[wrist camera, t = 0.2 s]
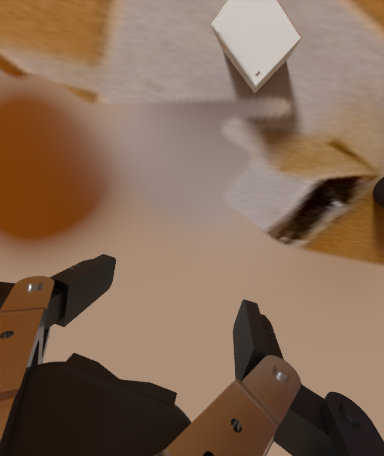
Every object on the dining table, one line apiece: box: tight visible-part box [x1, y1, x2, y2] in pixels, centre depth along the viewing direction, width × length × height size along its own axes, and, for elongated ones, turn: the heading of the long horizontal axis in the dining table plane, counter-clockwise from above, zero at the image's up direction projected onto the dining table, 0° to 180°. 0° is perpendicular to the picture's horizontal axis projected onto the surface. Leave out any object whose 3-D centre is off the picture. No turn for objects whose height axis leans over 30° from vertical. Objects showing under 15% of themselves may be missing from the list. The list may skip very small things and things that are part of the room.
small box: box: [211, 0, 301, 93], centre depth 24 cm, size 8×6×10 cm
